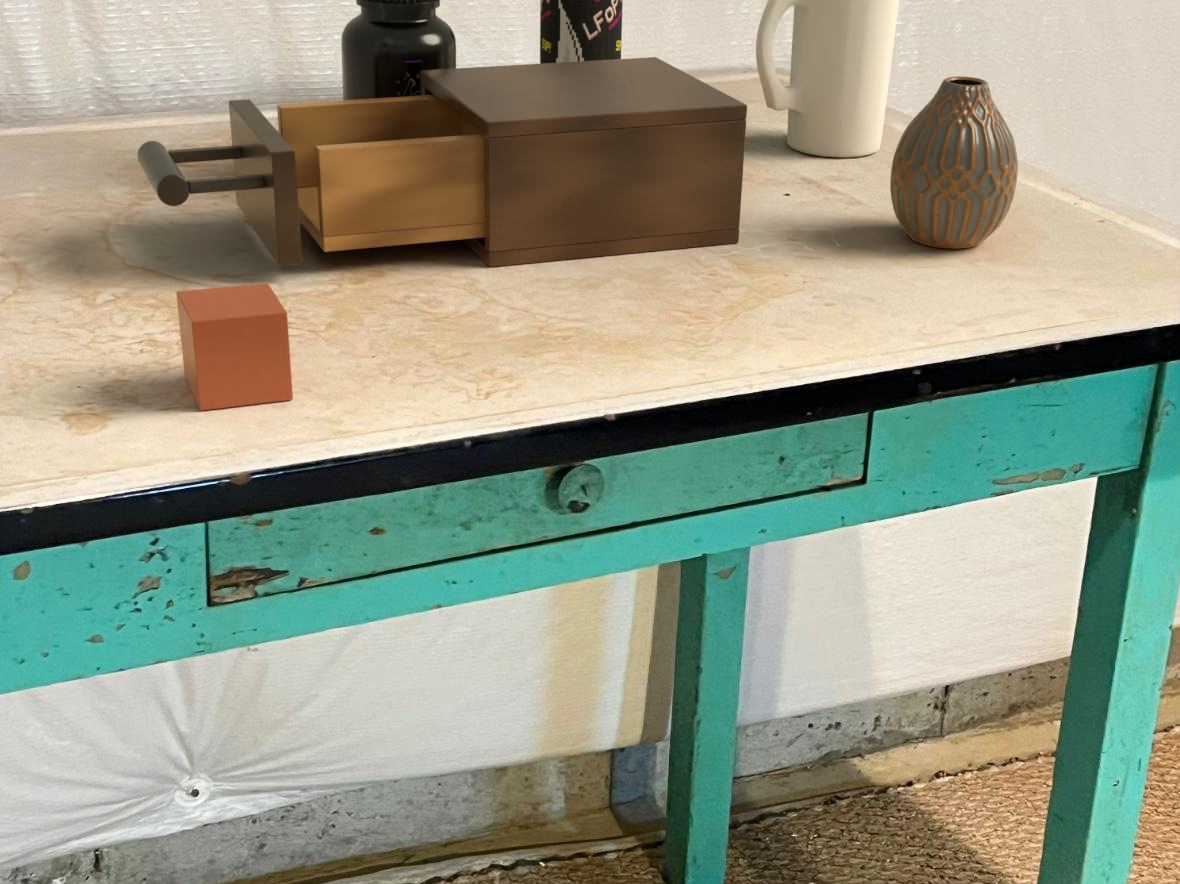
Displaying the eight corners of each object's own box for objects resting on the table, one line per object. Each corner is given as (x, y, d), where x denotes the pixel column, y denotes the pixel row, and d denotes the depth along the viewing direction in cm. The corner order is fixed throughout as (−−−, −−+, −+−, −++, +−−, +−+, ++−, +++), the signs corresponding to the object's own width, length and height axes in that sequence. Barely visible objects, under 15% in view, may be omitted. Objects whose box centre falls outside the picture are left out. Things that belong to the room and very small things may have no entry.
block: (200, 411, 72) (191, 321, 70) (184, 377, 75) (175, 291, 73) (293, 400, 73) (287, 311, 72) (274, 367, 77) (268, 282, 75)
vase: (925, 262, 92) (945, 99, 88) (862, 226, 98) (877, 71, 94) (1031, 251, 95) (1056, 90, 90) (964, 216, 100) (984, 64, 96)
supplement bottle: (412, 198, 101) (406, -14, 95) (323, 179, 104) (311, -28, 98) (479, 173, 106) (477, -30, 100) (392, 156, 109) (385, -42, 103)
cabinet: (489, 267, 90) (488, 122, 86) (423, 202, 100) (419, 70, 96) (738, 243, 95) (747, 104, 91) (651, 183, 105) (656, 56, 101)
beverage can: (576, 121, 118) (579, -63, 112) (523, 105, 122) (523, -73, 116) (636, 109, 122) (642, -69, 116) (582, 94, 125) (585, -79, 119)
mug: (845, 129, 118) (863, -54, 112) (904, 153, 113) (925, -38, 107) (722, 144, 114) (733, -46, 108) (778, 169, 108) (792, -29, 103)
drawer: (171, 276, 85) (159, 160, 82) (138, 212, 94) (127, 106, 91) (530, 243, 91) (530, 134, 88) (466, 186, 100) (464, 86, 97)
